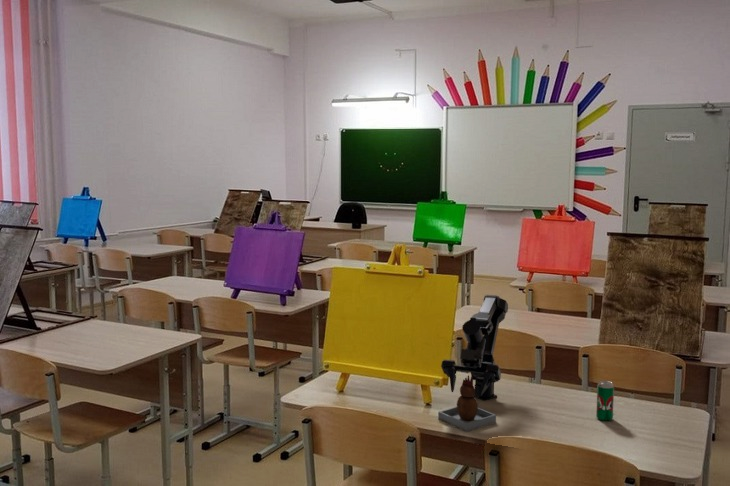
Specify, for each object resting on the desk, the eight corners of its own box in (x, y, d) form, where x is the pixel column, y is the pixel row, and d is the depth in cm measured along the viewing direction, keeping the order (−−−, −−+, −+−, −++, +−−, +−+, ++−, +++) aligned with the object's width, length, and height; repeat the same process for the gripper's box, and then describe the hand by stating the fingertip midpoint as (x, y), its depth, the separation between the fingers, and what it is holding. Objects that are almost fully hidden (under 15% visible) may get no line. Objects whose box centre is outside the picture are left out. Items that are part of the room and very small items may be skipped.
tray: (467, 410, 226) (467, 403, 226) (496, 422, 215) (496, 414, 215) (438, 419, 218) (438, 411, 218) (466, 431, 208) (466, 424, 208)
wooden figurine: (480, 421, 215) (481, 375, 213) (464, 423, 213) (465, 377, 211) (469, 413, 221) (469, 369, 219) (454, 416, 219) (454, 371, 217)
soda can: (612, 416, 219) (613, 381, 218) (613, 422, 215) (614, 386, 213) (596, 415, 221) (597, 379, 220) (596, 420, 216) (597, 384, 215)
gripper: (442, 335, 221) (432, 378, 212) (499, 340, 214) (491, 385, 205) (449, 352, 229) (439, 394, 220) (504, 358, 222) (496, 401, 213)
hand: (466, 393), depth 215 cm, fingers open, 9 cm apart
